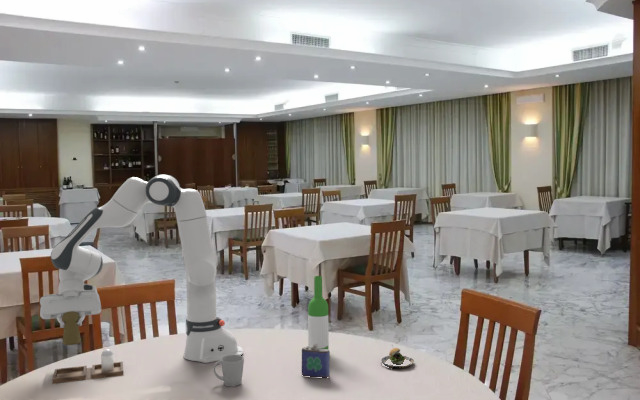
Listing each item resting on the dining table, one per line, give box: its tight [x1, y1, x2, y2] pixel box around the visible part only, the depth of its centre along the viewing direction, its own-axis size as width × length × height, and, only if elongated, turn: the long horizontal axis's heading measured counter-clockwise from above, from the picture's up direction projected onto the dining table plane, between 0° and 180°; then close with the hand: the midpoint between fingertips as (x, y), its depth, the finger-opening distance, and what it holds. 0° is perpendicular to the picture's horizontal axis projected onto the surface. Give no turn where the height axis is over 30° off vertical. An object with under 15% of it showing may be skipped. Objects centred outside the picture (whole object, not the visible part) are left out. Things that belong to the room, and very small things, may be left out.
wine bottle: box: [307, 275, 330, 351], centre depth 224 cm, size 8×8×30 cm
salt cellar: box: [100, 348, 115, 373], centre depth 203 cm, size 4×4×8 cm
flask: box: [301, 343, 331, 379], centre depth 201 cm, size 10×3×12 cm, turn 74°
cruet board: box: [51, 361, 125, 385], centre depth 201 cm, size 22×12×3 cm, turn 110°
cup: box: [213, 355, 245, 387], centre depth 195 cm, size 8×10×8 cm
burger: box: [381, 345, 414, 369], centre depth 213 cm, size 12×12×8 cm
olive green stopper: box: [62, 311, 82, 346], centre depth 208 cm, size 6×6×11 cm
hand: (71, 325), depth 207 cm, fingers closed on olive green stopper, 4 cm apart
